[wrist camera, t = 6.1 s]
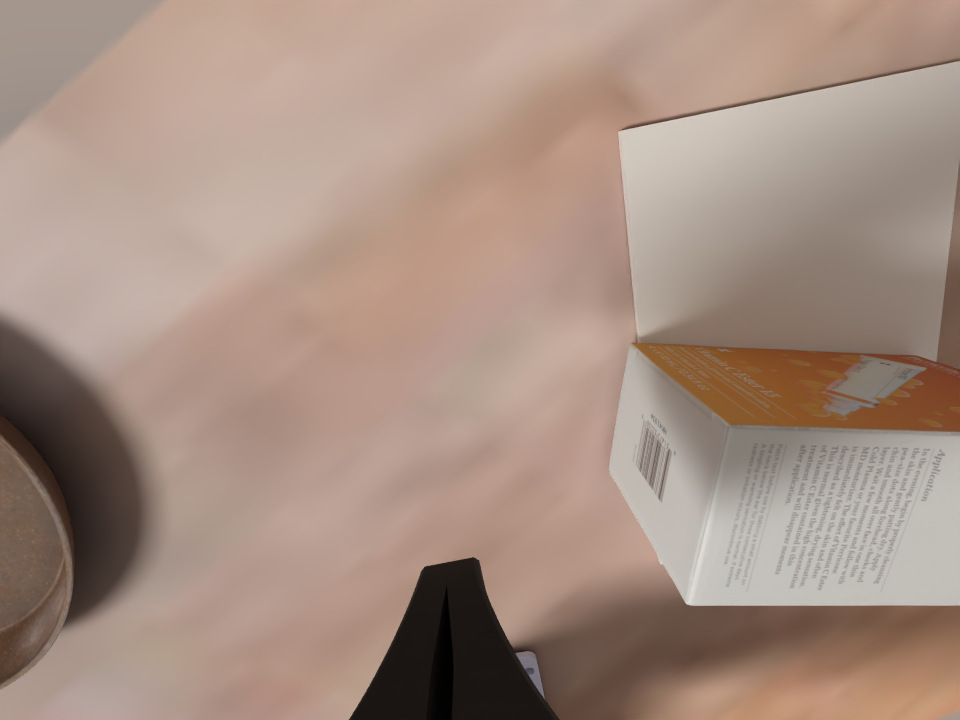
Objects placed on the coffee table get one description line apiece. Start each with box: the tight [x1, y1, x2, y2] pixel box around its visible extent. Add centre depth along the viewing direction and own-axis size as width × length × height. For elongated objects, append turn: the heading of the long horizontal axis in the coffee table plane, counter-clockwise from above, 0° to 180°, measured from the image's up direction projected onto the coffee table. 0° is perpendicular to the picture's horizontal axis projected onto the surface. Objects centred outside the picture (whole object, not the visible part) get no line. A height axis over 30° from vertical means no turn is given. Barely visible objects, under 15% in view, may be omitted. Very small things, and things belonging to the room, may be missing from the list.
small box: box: [609, 343, 960, 606], centre depth 18 cm, size 8×6×13 cm
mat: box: [618, 61, 960, 565], centre depth 22 cm, size 20×13×1 cm, turn 11°
